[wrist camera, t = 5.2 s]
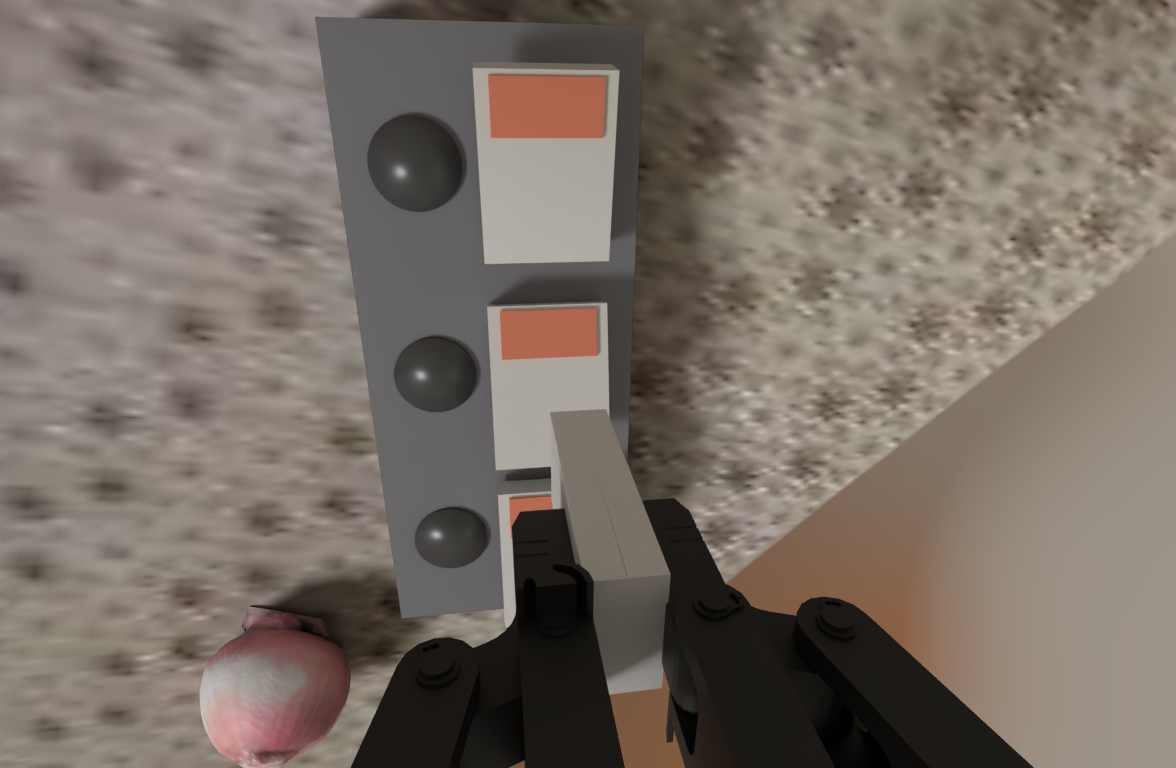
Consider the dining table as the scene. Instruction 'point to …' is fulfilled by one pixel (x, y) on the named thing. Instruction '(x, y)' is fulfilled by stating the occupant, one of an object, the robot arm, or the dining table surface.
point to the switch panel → (455, 275)
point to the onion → (274, 689)
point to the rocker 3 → (510, 504)
